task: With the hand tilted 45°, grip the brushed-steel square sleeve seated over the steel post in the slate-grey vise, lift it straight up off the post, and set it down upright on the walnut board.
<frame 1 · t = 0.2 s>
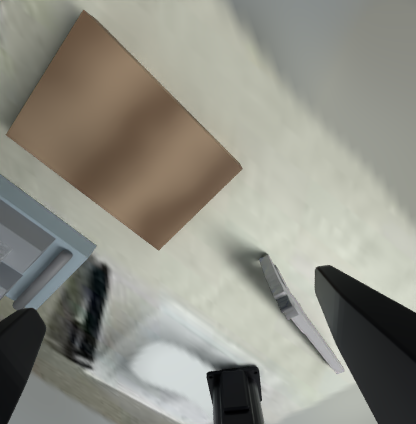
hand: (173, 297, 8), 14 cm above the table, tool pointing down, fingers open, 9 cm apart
walnut board: (134, 147, 20), on the table
caliper: (304, 315, 28), on the table
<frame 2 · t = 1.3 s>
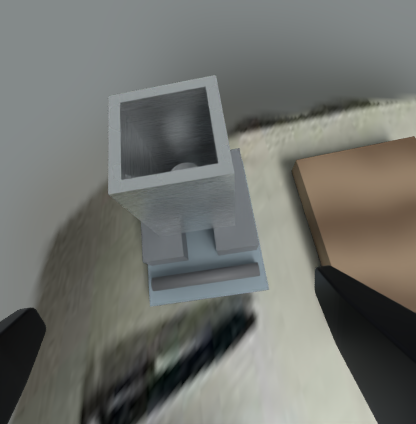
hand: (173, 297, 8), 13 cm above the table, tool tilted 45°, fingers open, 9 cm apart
walnut board: (374, 232, 21), on the table
steel sleeve: (193, 196, 19), point 4 cm above the table, touching vise
vise: (200, 212, 23), on the table
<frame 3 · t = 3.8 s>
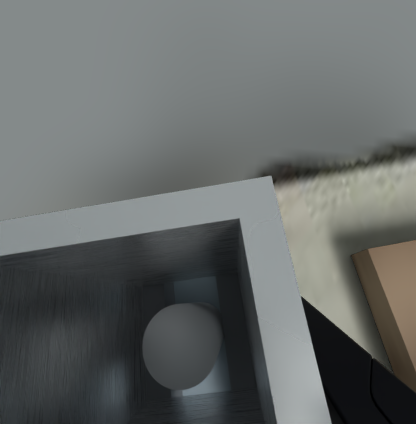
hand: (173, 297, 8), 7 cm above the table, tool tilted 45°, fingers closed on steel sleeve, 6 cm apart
steel sleeve: (194, 332, 11), point 4 cm above the table, touching gripper, vise
vise: (205, 324, 14), on the table
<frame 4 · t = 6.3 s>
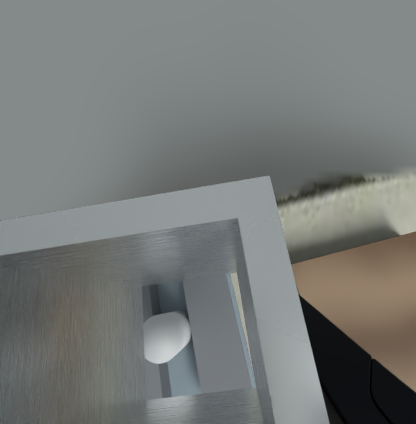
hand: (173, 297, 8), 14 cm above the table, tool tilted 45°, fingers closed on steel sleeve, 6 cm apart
walnut board: (383, 344, 18), on the table
steel sleeve: (194, 332, 11), point 10 cm above the table, touching gripper
vise: (184, 325, 20), on the table
when the fingers open (7 cm above the table, at t = 8.9 s): steel sleeve drops 1 cm, resting on walnut board.
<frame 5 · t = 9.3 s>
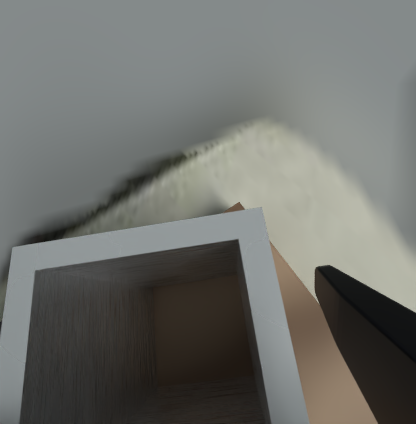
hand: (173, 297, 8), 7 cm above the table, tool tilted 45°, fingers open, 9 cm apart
walnut board: (239, 370, 13), on the table
steel sleeve: (199, 328, 12), point 2 cm above the table, touching walnut board
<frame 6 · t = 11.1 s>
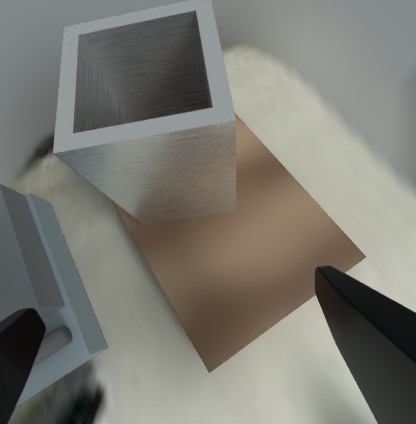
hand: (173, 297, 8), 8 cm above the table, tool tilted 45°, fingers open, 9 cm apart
walnut board: (216, 217, 17), on the table
steel sleeve: (185, 176, 16), point 2 cm above the table, touching walnut board
vise: (7, 278, 17), on the table
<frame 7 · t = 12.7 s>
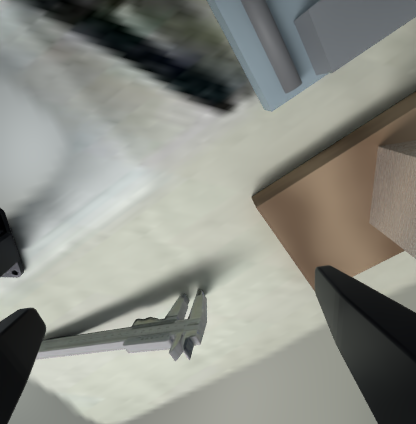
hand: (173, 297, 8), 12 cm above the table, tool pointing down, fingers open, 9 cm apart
walnut board: (360, 196, 20), on the table
caliper: (112, 318, 25), on the table
steel sleeve: (415, 180, 17), point 2 cm above the table, touching walnut board
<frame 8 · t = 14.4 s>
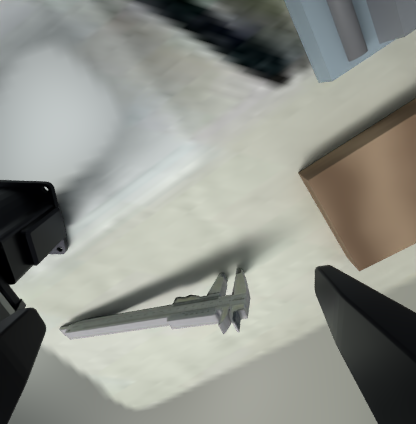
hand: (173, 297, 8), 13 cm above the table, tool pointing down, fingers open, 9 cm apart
walnut board: (406, 172, 20), on the table
caliper: (148, 299, 26), on the table
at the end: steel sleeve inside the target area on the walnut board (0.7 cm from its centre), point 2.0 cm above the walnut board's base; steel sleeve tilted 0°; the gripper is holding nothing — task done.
